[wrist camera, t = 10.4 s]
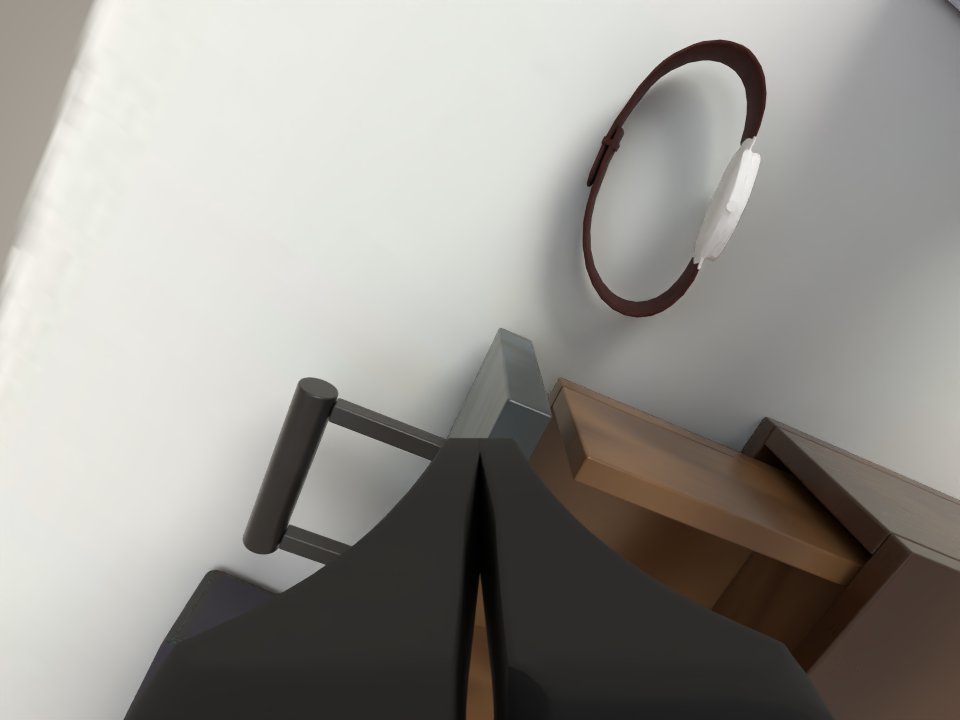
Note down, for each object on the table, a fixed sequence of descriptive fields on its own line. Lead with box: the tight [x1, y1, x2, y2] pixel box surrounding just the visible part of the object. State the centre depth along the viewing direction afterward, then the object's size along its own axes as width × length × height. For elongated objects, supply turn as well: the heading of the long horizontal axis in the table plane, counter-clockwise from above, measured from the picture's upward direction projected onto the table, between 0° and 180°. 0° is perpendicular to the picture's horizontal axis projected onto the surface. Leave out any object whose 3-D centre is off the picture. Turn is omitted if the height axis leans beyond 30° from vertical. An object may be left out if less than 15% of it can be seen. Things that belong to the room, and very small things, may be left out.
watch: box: [583, 40, 766, 317], centre depth 16 cm, size 8×5×4 cm, turn 164°
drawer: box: [243, 328, 873, 720], centre depth 19 cm, size 18×12×6 cm
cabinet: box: [741, 417, 960, 720], centre depth 20 cm, size 14×14×8 cm
